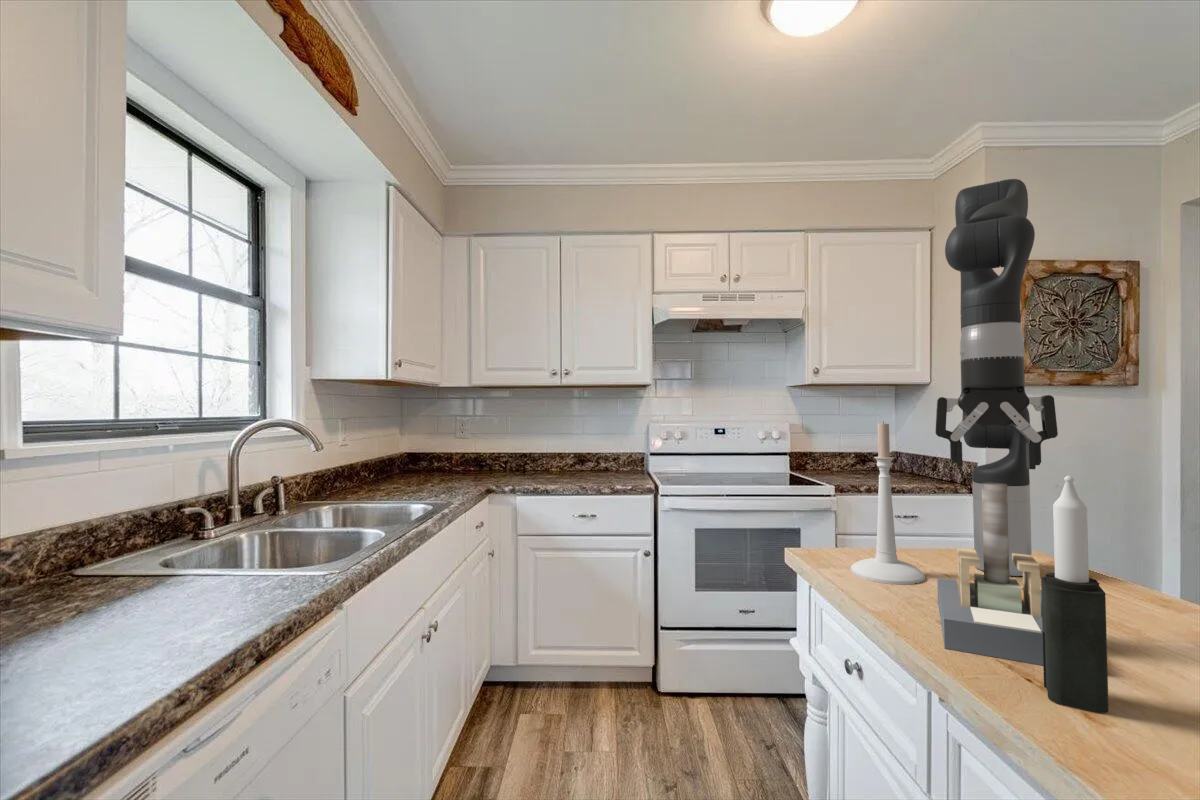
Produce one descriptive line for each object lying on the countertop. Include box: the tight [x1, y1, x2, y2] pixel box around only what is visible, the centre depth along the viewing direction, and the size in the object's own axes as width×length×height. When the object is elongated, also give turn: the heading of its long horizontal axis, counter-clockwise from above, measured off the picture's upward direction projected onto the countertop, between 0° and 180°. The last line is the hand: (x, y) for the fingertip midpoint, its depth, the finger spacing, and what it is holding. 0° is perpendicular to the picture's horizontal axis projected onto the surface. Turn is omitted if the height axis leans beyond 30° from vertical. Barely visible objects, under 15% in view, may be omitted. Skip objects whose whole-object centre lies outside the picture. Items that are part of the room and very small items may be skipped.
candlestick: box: [850, 420, 926, 586], centre depth 107 cm, size 13×13×30 cm
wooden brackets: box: [957, 547, 1041, 617], centre depth 79 cm, size 6×9×7 cm, turn 61°
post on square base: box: [973, 483, 1022, 614], centre depth 79 cm, size 5×5×18 cm
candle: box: [1040, 475, 1110, 714], centre depth 61 cm, size 5×5×25 cm
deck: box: [936, 577, 1043, 666], centre depth 79 cm, size 20×14×4 cm
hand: (994, 467), depth 79 cm, fingers open, 8 cm apart
